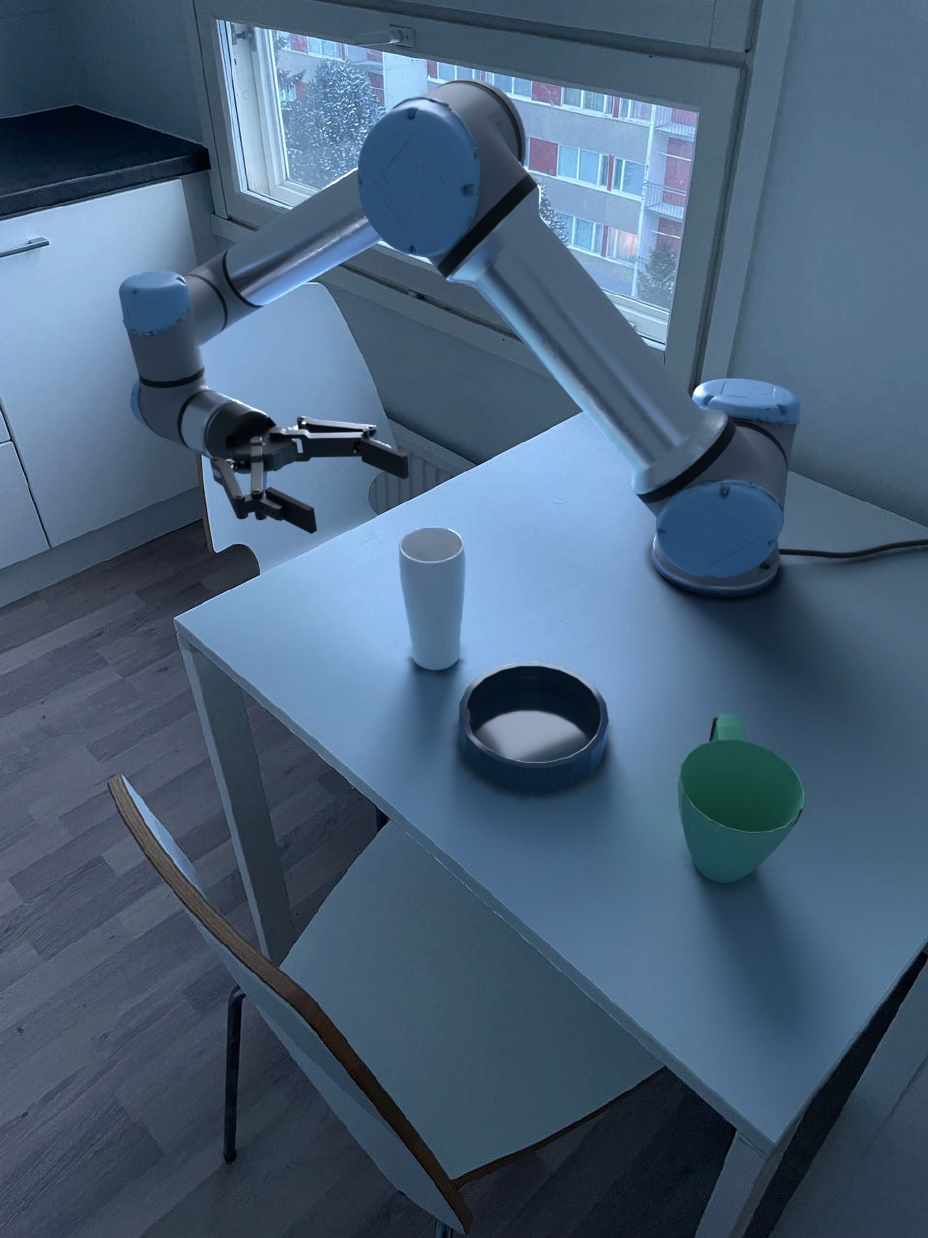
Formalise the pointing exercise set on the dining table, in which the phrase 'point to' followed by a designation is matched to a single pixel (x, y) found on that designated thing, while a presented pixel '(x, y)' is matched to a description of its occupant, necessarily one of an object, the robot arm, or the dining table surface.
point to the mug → (735, 801)
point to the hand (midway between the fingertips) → (361, 493)
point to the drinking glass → (433, 594)
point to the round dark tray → (533, 727)
